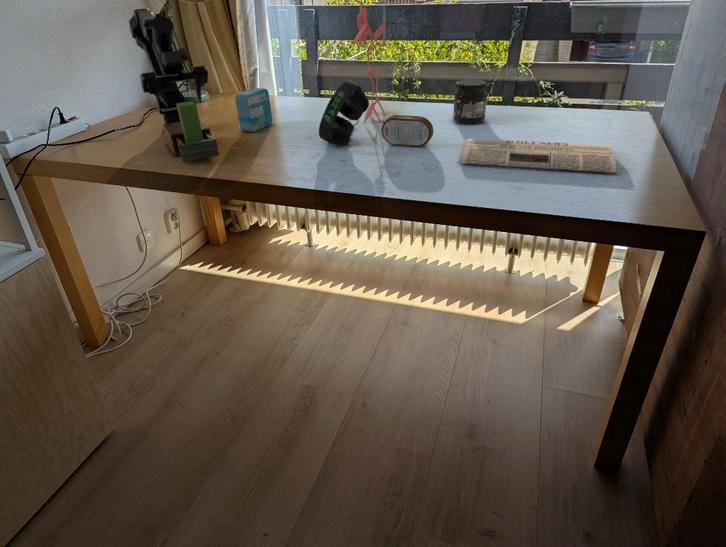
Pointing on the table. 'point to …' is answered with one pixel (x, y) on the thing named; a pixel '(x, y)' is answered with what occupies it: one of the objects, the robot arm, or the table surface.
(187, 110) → the green beveled box
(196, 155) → the drawer
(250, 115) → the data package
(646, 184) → the table surface
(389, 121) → the tin
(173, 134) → the cabinet
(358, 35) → the figurine
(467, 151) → the newspaper
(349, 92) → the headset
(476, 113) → the supplement container
